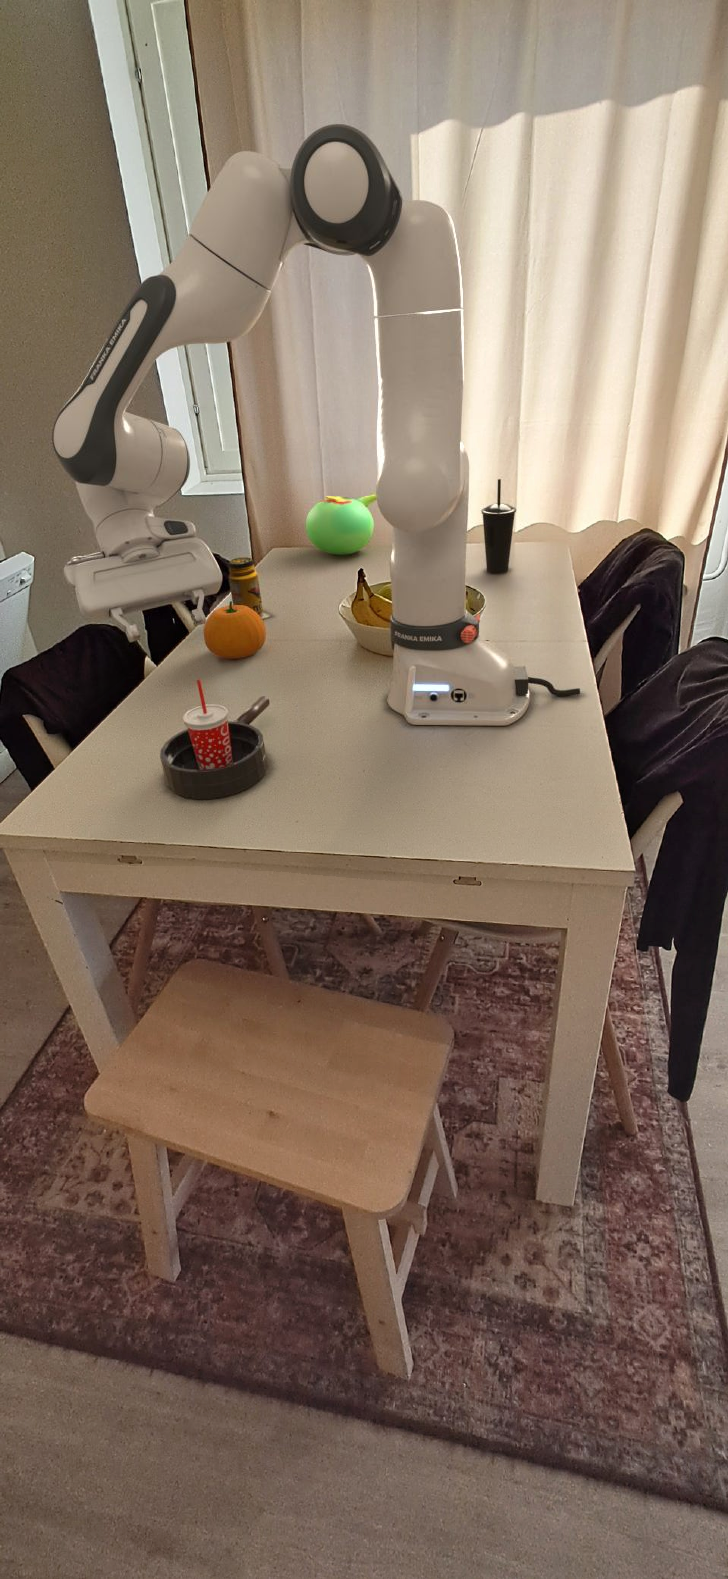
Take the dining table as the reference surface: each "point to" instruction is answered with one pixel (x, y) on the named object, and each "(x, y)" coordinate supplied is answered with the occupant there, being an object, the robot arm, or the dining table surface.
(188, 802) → the dining table surface
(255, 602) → the condiment
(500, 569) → the drinking cup
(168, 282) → the robot arm
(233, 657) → the fruit
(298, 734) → the dining table surface
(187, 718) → the beverage cup
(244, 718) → the skillet handle
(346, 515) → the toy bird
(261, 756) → the skillet
